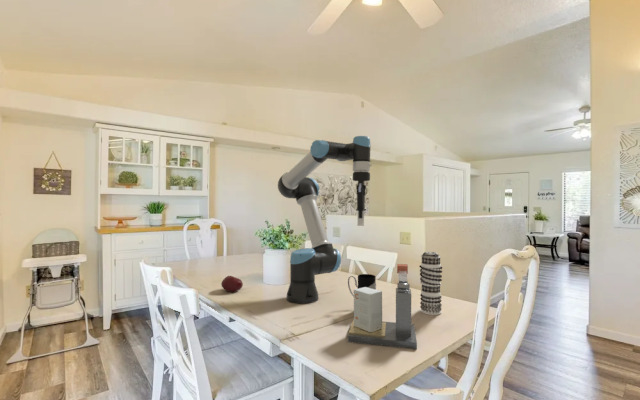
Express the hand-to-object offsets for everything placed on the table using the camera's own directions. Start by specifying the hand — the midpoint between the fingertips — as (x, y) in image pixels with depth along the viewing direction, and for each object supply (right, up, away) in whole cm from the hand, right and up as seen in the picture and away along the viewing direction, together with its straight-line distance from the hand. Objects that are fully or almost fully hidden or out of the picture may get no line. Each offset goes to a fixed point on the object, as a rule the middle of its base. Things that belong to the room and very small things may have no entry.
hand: (360, 225), depth 142 cm
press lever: (+13, -19, -22) cm, 32 cm away
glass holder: (0, -36, -3) cm, 36 cm away
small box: (-1, -34, -28) cm, 44 cm away
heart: (-64, -36, +26) cm, 78 cm away
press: (+4, -36, -30) cm, 47 cm away
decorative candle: (+29, -36, -5) cm, 47 cm away
